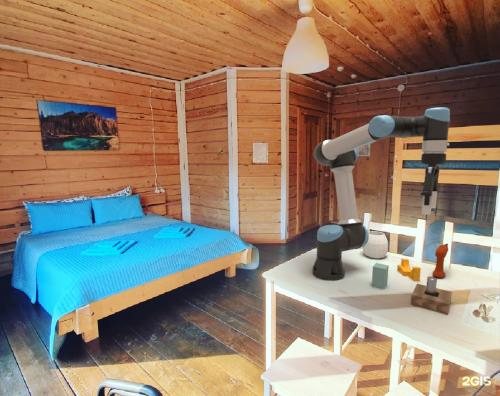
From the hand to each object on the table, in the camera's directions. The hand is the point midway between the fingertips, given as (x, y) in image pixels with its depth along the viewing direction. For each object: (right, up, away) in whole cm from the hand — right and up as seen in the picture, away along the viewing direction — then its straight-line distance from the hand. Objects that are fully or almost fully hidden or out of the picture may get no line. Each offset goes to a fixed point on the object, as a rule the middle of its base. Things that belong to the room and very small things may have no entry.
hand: (428, 211), depth 107 cm
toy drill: (+27, -32, +34) cm, 54 cm away
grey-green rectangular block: (-9, -34, +22) cm, 41 cm away
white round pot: (+4, -28, +57) cm, 64 cm away
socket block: (+5, -36, +6) cm, 37 cm away
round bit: (+4, -36, +7) cm, 37 cm away
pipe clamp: (+9, -33, +31) cm, 46 cm away
